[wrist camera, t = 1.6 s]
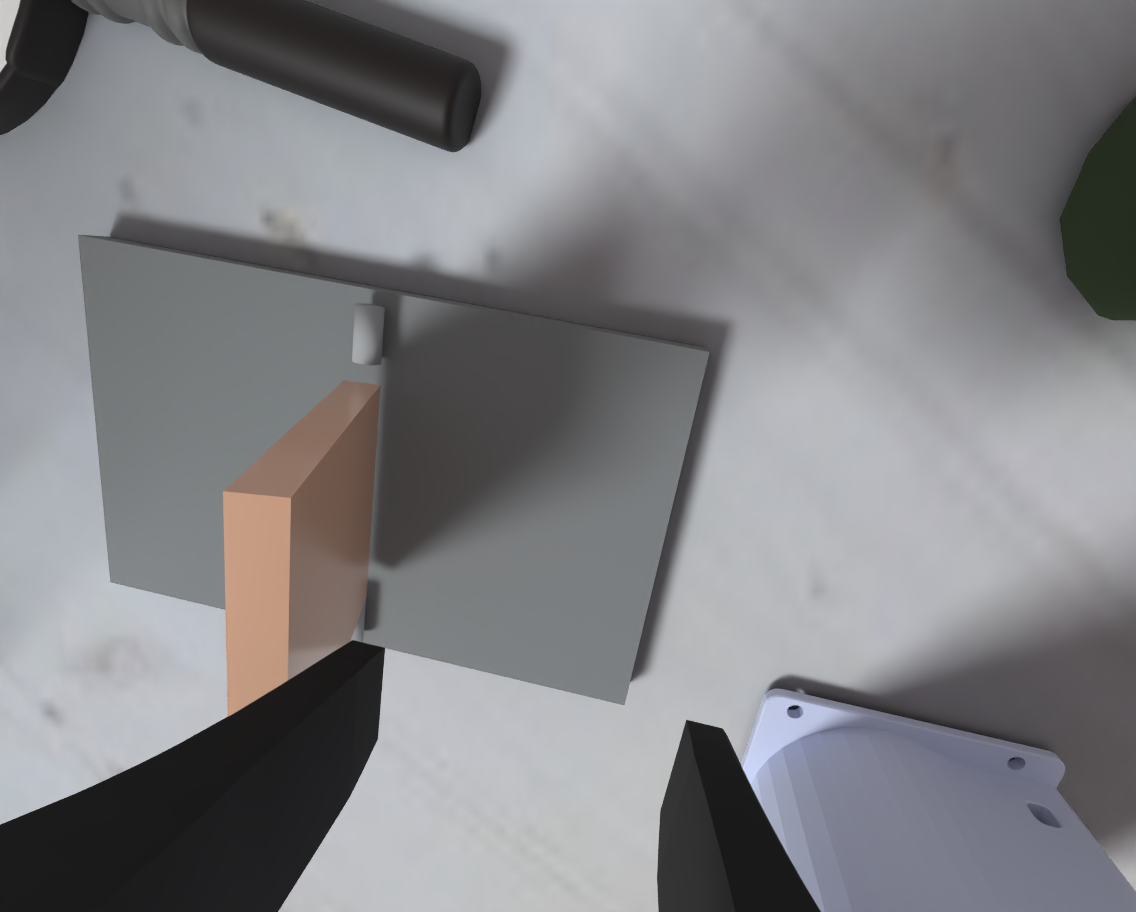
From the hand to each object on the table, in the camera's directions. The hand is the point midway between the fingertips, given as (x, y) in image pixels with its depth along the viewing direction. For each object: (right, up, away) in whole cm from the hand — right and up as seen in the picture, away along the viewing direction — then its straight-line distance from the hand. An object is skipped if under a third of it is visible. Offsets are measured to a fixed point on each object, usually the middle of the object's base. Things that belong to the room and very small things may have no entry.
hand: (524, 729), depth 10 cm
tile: (-5, +2, +4) cm, 6 cm away
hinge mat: (-6, +4, +9) cm, 12 cm away
